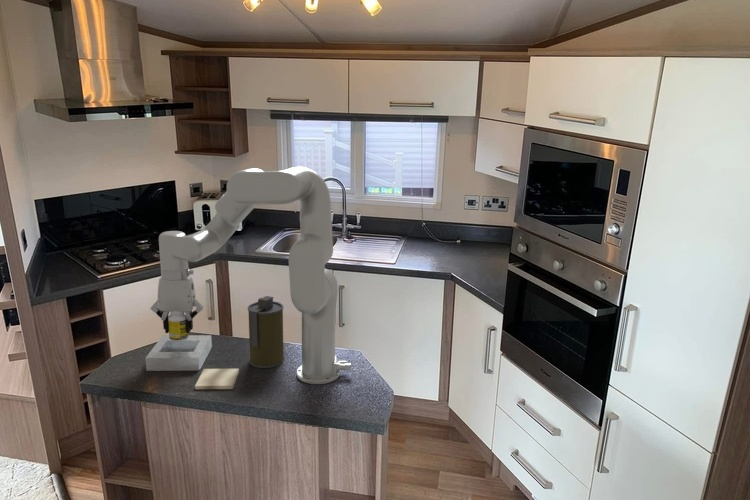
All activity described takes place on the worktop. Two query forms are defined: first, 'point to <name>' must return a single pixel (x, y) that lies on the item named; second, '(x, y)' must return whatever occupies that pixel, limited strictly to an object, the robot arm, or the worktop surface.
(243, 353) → the worktop surface
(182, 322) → the supplement bottle
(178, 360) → the socket block
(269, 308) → the canister
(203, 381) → the oak board
